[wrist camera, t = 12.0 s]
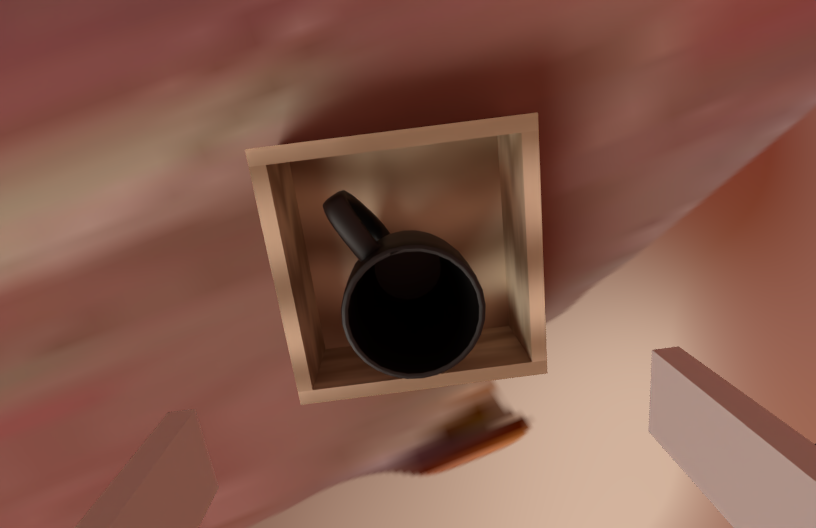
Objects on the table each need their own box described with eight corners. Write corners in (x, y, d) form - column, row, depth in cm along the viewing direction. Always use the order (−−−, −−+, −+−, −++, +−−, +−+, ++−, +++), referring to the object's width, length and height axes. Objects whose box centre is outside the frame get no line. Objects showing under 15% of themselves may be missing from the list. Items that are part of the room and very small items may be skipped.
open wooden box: (276, 147, 32) (244, 149, 25) (506, 118, 32) (537, 112, 25) (317, 355, 36) (300, 404, 29) (518, 330, 36) (547, 373, 30)
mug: (395, 149, 31) (397, 152, 22) (479, 281, 34) (512, 333, 25) (303, 211, 32) (267, 240, 23) (392, 335, 35) (393, 404, 26)
